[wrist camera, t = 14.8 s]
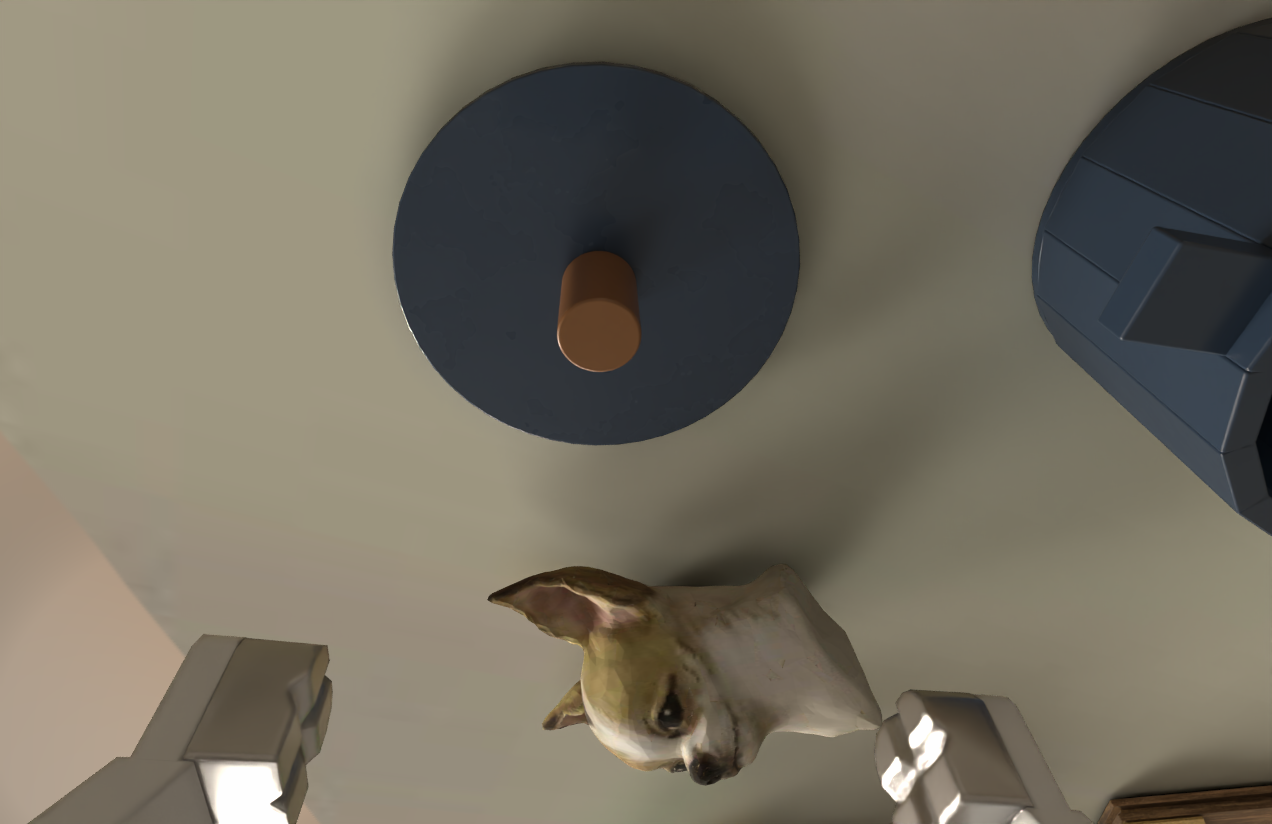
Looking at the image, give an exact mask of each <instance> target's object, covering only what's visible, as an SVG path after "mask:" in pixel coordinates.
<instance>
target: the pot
mask: <svg viewBox="0 0 1272 824" xmlns="http://www.w3.org/2000/svg"><path fill="white" fill-rule="evenodd" d="M1032 282H1033V290H1034V297H1035V300H1036V304H1037V307H1038V310H1039V313H1040V316H1041V317H1042V319H1043V321H1044V323H1045V325H1046V327H1047V329H1048V330H1049V331H1050V333H1051V334H1052V335H1053V337H1054V339H1055V342H1056V344H1057V345H1058V346H1059V347H1060V348H1061V349H1062V350H1063V351H1064V352H1065V353H1066V354H1068V355H1069V356H1070V357H1071V358H1072V359H1073V360H1074V361H1075V362H1076V363H1077V364H1078V365H1079V366H1080V367H1081V368H1083V369H1084V370H1085V371H1086V372H1087V373H1088V374H1089V375H1090V376H1091V377H1092V378H1093V379H1094V380H1095V381H1096V382H1097V383H1099V384H1100V385H1101V386H1102V387H1103V388H1104V389H1105V390H1106V391H1107V392H1108V393H1109V394H1110V395H1111V396H1112V397H1114V398H1115V399H1116V400H1117V401H1118V402H1119V403H1120V404H1121V405H1122V406H1123V407H1124V408H1125V409H1126V410H1127V411H1128V412H1130V413H1131V414H1132V415H1133V416H1134V417H1135V418H1136V419H1137V420H1138V421H1139V422H1140V423H1141V424H1142V425H1143V426H1145V427H1146V428H1147V429H1148V430H1149V431H1150V432H1151V433H1152V434H1153V435H1154V436H1155V437H1156V438H1157V439H1158V440H1160V441H1161V442H1162V443H1163V444H1164V445H1165V446H1166V447H1167V448H1168V449H1169V450H1170V451H1171V452H1172V453H1173V454H1174V455H1176V456H1177V457H1178V458H1179V459H1180V460H1181V461H1182V462H1183V463H1184V464H1185V465H1186V466H1187V467H1188V468H1189V469H1191V470H1192V471H1193V472H1194V473H1195V474H1196V475H1197V476H1198V477H1199V478H1200V479H1201V480H1202V481H1203V482H1204V483H1206V484H1207V485H1208V486H1209V487H1210V488H1211V489H1212V490H1213V491H1214V492H1215V493H1216V494H1217V495H1218V496H1219V497H1220V498H1222V499H1223V500H1224V501H1225V502H1226V503H1227V504H1228V505H1229V506H1230V507H1231V508H1232V509H1233V510H1234V511H1235V512H1237V513H1238V514H1239V515H1241V516H1242V517H1244V518H1245V519H1247V520H1248V521H1250V522H1251V523H1253V524H1254V525H1256V526H1257V527H1259V528H1260V529H1262V530H1263V531H1264V532H1266V533H1267V534H1269V535H1270V536H1272V18H1270V19H1265V20H1262V21H1258V22H1255V23H1252V24H1248V25H1245V26H1242V27H1238V28H1236V29H1233V30H1231V31H1228V32H1226V33H1224V34H1221V35H1219V36H1217V37H1214V38H1212V39H1210V40H1207V41H1205V42H1204V43H1202V44H1200V45H1198V46H1196V47H1194V48H1193V49H1191V50H1189V51H1187V52H1185V53H1183V54H1182V55H1180V56H1178V57H1177V58H1175V59H1174V60H1172V61H1171V62H1169V63H1168V64H1166V65H1165V66H1163V67H1162V68H1160V69H1159V70H1157V71H1156V72H1154V73H1153V74H1152V75H1150V76H1149V77H1148V78H1147V79H1145V80H1144V81H1143V82H1142V83H1141V84H1139V85H1138V86H1137V87H1136V88H1134V89H1133V90H1132V91H1131V92H1130V93H1128V94H1127V95H1126V96H1125V97H1124V98H1123V99H1122V100H1121V101H1120V102H1119V103H1118V104H1117V105H1116V106H1115V107H1114V108H1113V109H1112V110H1111V111H1110V112H1109V113H1108V114H1107V115H1106V116H1105V117H1104V118H1103V119H1102V120H1101V121H1100V122H1099V124H1098V125H1097V126H1096V127H1095V128H1094V129H1093V131H1092V132H1091V133H1090V134H1089V135H1088V136H1087V138H1086V139H1085V140H1084V141H1083V143H1082V144H1081V146H1080V147H1079V148H1078V150H1077V151H1076V153H1075V154H1074V155H1073V157H1072V158H1071V160H1070V161H1069V163H1068V164H1067V166H1066V167H1065V169H1064V171H1063V173H1062V175H1061V176H1060V178H1059V180H1058V182H1057V183H1056V185H1055V187H1054V189H1053V191H1052V193H1051V196H1050V198H1049V200H1048V202H1047V205H1046V207H1045V209H1044V212H1043V215H1042V218H1041V221H1040V225H1039V228H1038V231H1037V234H1036V240H1035V245H1034V251H1033V257H1032Z"/></svg>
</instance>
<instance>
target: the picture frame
mask: <svg viewBox="0 0 1272 824" xmlns="http://www.w3.org/2000/svg"><path fill="white" fill-rule="evenodd" d="M1097 824H1272V785H1271V786H1260V787H1248V788H1237V789H1226V790H1215V791H1204V792H1193V793H1182V794H1170V795H1159V796H1148V797H1137V798H1126V799H1115V800H1110V801H1109V803H1108V805H1107V807H1106V809H1105V810H1104V812H1103V814H1102V816H1101V818H1100V820H1099V822H1098V823H1097Z"/></svg>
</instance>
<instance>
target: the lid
mask: <svg viewBox="0 0 1272 824" xmlns="http://www.w3.org/2000/svg"><path fill="white" fill-rule="evenodd" d="M392 256H393V268H394V280H395V284H396V289H397V293H398V297H399V302H400V305H401V308H402V311H403V313H404V316H405V319H406V321H407V324H408V327H409V329H410V331H411V332H412V334H413V336H414V338H415V340H416V342H417V344H418V346H419V348H420V349H421V351H422V352H423V353H424V355H425V356H426V358H427V359H428V361H429V362H430V363H431V365H432V366H433V368H434V369H435V370H436V371H437V372H438V373H439V374H440V375H441V377H442V378H443V379H444V380H445V381H446V382H447V383H448V384H449V385H450V386H451V387H452V388H453V389H454V390H455V391H456V392H458V393H459V394H460V395H461V396H462V397H463V398H464V399H466V400H467V401H468V402H469V403H471V404H472V405H474V406H475V407H477V408H478V409H480V410H481V411H483V412H484V413H486V414H487V415H489V416H491V417H493V418H495V419H496V420H498V421H500V422H502V423H504V424H506V425H508V426H510V427H513V428H515V429H518V430H520V431H523V432H525V433H528V434H531V435H534V436H538V437H542V438H545V439H549V440H553V441H559V442H565V443H571V444H582V445H617V444H625V443H632V442H639V441H644V440H648V439H652V438H655V437H659V436H663V435H666V434H669V433H671V432H674V431H677V430H679V429H682V428H684V427H686V426H688V425H690V424H692V423H694V422H696V421H698V420H700V419H702V418H704V417H706V416H707V415H709V414H710V413H712V412H714V411H715V410H717V409H718V408H720V407H721V406H723V405H724V404H725V403H726V402H728V401H729V400H730V399H731V398H733V397H734V396H735V395H736V394H737V393H739V392H740V391H741V390H742V389H743V388H744V387H745V386H746V385H747V384H748V383H749V381H750V380H751V379H752V378H753V377H754V376H755V375H756V374H757V373H758V372H759V370H760V369H761V367H762V366H763V365H764V363H765V362H766V361H767V359H768V358H769V357H770V355H771V354H772V352H773V350H774V348H775V347H776V345H777V343H778V341H779V339H780V338H781V336H782V334H783V331H784V329H785V326H786V324H787V321H788V319H789V317H790V314H791V311H792V307H793V303H794V299H795V295H796V292H797V286H798V277H799V269H800V247H799V235H798V229H797V223H796V217H795V213H794V209H793V206H792V203H791V200H790V197H789V194H788V191H787V188H786V186H785V184H784V182H783V180H782V178H781V176H780V174H779V172H778V170H777V168H776V166H775V164H774V163H773V161H772V160H771V158H770V157H769V155H768V154H767V152H766V151H765V149H764V148H763V146H762V145H761V143H760V142H759V140H758V139H757V138H756V137H755V136H754V135H753V134H752V133H751V131H750V130H749V129H748V128H747V127H746V126H745V125H744V124H743V123H742V122H741V120H740V119H739V118H738V117H736V116H735V115H734V114H733V113H731V112H730V111H729V110H728V109H727V108H725V107H724V106H723V105H722V104H720V103H719V102H718V101H717V100H715V99H714V98H712V97H710V96H709V95H707V94H705V93H704V92H702V91H701V90H699V89H697V88H696V87H694V86H692V85H690V84H688V83H686V82H683V81H681V80H679V79H676V78H674V77H672V76H669V75H667V74H665V73H662V72H658V71H654V70H650V69H646V68H643V67H639V66H635V65H628V64H619V63H611V62H573V63H567V64H561V65H556V66H550V67H544V68H540V69H537V70H534V71H531V72H528V73H525V74H522V75H519V76H516V77H513V78H511V79H509V80H507V81H505V82H503V83H501V84H499V85H497V86H495V87H493V88H491V89H489V90H487V91H486V92H484V93H483V94H481V95H480V96H479V97H477V98H476V99H474V100H473V101H471V102H470V103H469V104H467V105H466V106H464V107H463V108H462V109H461V110H460V111H459V112H458V113H457V114H456V115H455V116H453V117H452V118H451V119H450V120H449V121H448V122H447V123H446V124H445V125H444V126H443V127H442V128H441V129H440V131H439V132H438V133H437V135H436V136H435V137H434V138H433V140H432V141H431V142H430V144H429V145H428V146H427V147H426V149H425V150H424V151H423V153H422V155H421V156H420V158H419V160H418V162H417V164H416V165H415V167H414V169H413V171H412V172H411V174H410V176H409V178H408V181H407V184H406V186H405V189H404V192H403V194H402V197H401V200H400V202H399V207H398V212H397V216H396V221H395V226H394V236H393V252H392Z"/></svg>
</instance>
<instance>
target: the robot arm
mask: <svg viewBox="0 0 1272 824" xmlns="http://www.w3.org/2000/svg"><path fill="white" fill-rule="evenodd" d="M329 661H330V659H329V653H328V646H327V645H319V644H308V643H297V642H286V641H275V640H264V639H252V638H246V637H234V636H221V635H207V634H203V635H202V636H201V637H200V638H199V639H198V640H197V641H196V642H195V643H194V644H193V645H192V646H191V648H190V650H189V652H188V654H187V656H186V657H185V659H184V661H183V663H182V665H181V667H180V668H179V670H178V672H177V674H176V676H175V677H174V679H173V681H172V683H171V685H170V686H169V688H168V690H167V692H166V694H165V696H164V697H163V699H162V701H161V703H160V705H159V707H158V708H157V710H156V712H155V713H154V716H153V717H152V719H151V721H150V723H149V724H148V726H147V728H146V730H145V732H144V734H143V735H142V737H141V739H140V741H139V743H138V744H137V746H136V748H135V750H134V751H133V753H132V755H131V757H116V758H115V759H114V760H112V761H111V762H110V763H108V764H107V765H106V766H104V767H103V768H102V769H100V770H99V771H98V772H96V773H95V774H93V775H92V776H91V777H89V778H88V779H87V780H85V781H84V782H83V783H81V784H80V785H79V786H77V787H76V788H75V789H73V790H72V791H71V792H69V793H68V794H67V795H65V796H64V797H63V798H61V799H60V800H59V801H57V802H56V803H55V804H53V805H52V806H51V807H49V808H48V809H46V810H45V811H44V812H42V813H41V814H40V815H38V816H37V817H36V818H34V819H33V820H32V821H30V822H29V823H28V824H296V822H297V819H298V816H299V814H300V811H301V808H302V805H303V802H304V799H305V796H306V793H307V790H308V779H307V771H306V765H307V764H308V763H309V762H310V761H311V760H312V759H313V758H314V757H316V756H317V755H318V754H319V753H320V750H321V747H322V744H323V741H324V738H325V735H326V731H327V727H328V722H329V717H330V713H331V708H332V694H333V691H332V681H331V680H330V679H329V678H328V677H326V676H325V673H326V670H327V667H328V664H329ZM896 706H897V709H898V712H899V713H897V714H895V715H893V716H891V717H889V718H888V719H886V720H884V721H883V723H882V725H881V726H880V728H879V730H878V732H877V734H876V741H875V750H874V754H875V762H876V769H877V772H878V775H879V779H880V782H881V785H882V787H883V788H884V789H885V790H886V791H887V792H888V793H889V794H890V795H891V796H892V798H893V799H894V800H895V801H896V805H895V808H894V811H893V814H892V820H893V823H894V824H1094V823H1093V822H1092V821H1091V820H1090V819H1089V818H1088V817H1086V816H1085V815H1084V814H1083V813H1082V812H1081V811H1077V810H1070V808H1069V806H1068V804H1067V802H1066V800H1065V798H1064V796H1063V794H1062V792H1061V790H1060V788H1059V787H1058V785H1057V783H1056V781H1055V779H1054V777H1053V775H1052V773H1051V771H1050V769H1049V767H1048V765H1047V763H1046V762H1045V760H1044V758H1043V756H1042V754H1041V752H1040V750H1039V748H1038V746H1037V744H1036V742H1035V740H1034V738H1033V737H1032V735H1031V733H1030V731H1029V729H1028V727H1027V725H1026V723H1025V721H1024V719H1023V717H1022V715H1021V713H1020V711H1019V710H1018V708H1017V706H1016V705H1015V704H1014V703H1013V702H1012V701H1011V700H1010V699H1009V698H1007V697H1003V696H993V695H976V694H971V693H961V692H944V691H927V690H908V691H906V692H903V693H902V694H901V695H900V697H899V698H898V700H897V701H896Z"/></svg>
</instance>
